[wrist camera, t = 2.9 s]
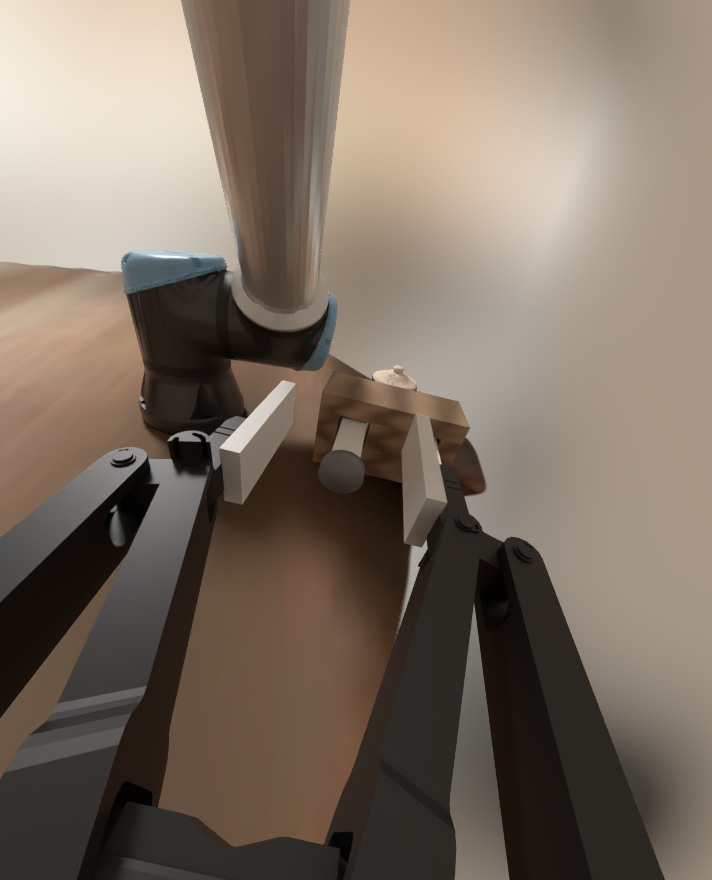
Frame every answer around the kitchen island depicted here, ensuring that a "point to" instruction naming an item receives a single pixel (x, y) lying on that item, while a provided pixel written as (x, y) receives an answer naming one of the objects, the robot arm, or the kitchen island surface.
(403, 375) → the teacup with lid
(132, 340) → the kitchen island surface
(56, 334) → the kitchen island surface
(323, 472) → the graphite plug
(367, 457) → the walnut plug block
